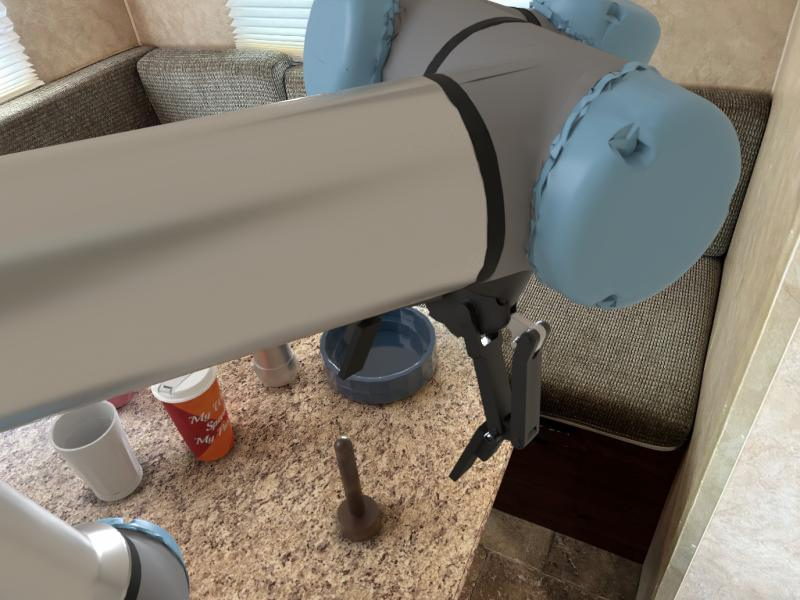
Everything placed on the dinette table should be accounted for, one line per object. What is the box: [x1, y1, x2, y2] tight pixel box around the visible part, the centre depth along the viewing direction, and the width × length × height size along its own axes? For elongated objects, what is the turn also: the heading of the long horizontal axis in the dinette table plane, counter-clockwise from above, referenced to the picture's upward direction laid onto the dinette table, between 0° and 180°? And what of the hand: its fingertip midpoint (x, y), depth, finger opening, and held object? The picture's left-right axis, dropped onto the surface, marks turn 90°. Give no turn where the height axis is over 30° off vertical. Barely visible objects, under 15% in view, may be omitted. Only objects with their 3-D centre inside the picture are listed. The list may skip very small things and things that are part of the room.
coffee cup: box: [150, 365, 235, 462], centre depth 81 cm, size 8×8×15 cm
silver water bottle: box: [252, 343, 299, 388], centre depth 89 cm, size 6×7×20 cm
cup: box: [47, 401, 144, 502], centre depth 78 cm, size 8×8×12 cm
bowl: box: [319, 307, 438, 405], centre depth 94 cm, size 18×18×6 cm
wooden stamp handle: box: [333, 435, 381, 543], centre depth 69 cm, size 5×5×16 cm
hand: (402, 420), depth 55 cm, fingers open, 13 cm apart
